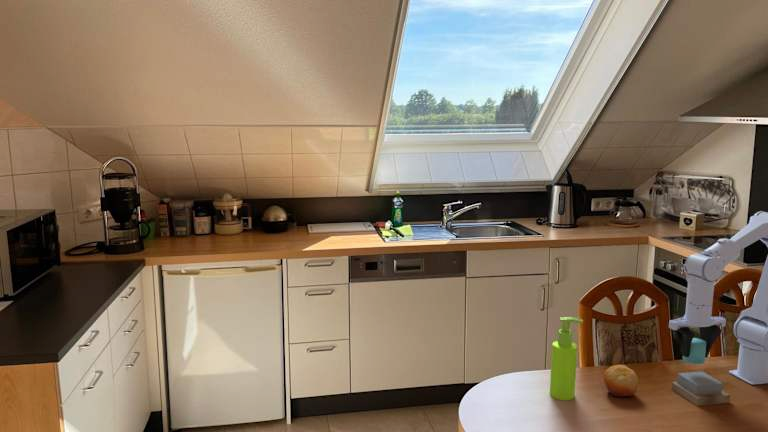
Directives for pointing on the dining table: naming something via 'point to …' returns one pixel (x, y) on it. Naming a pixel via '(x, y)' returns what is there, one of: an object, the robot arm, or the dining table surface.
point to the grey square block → (699, 383)
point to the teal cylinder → (696, 352)
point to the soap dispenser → (564, 362)
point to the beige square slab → (701, 396)
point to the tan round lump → (621, 380)
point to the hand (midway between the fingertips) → (694, 354)
